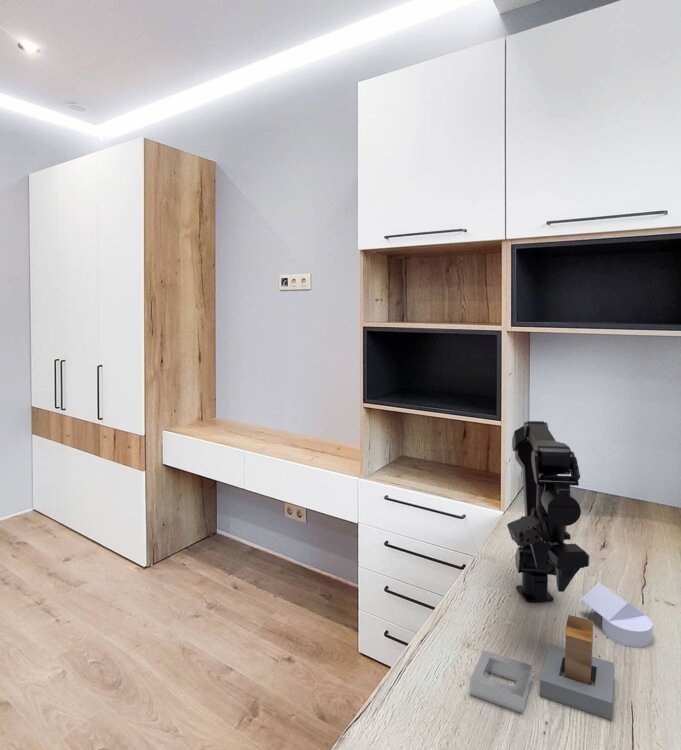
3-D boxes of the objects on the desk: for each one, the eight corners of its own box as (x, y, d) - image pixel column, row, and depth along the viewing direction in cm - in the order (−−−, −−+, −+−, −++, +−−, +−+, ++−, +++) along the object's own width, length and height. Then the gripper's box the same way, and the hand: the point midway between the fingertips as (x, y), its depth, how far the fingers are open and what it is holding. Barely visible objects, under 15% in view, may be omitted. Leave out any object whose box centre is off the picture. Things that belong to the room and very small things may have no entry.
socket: (549, 658, 96) (549, 644, 95) (613, 678, 90) (614, 663, 90) (539, 695, 86) (540, 679, 86) (611, 720, 81) (612, 703, 80)
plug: (566, 676, 91) (568, 614, 90) (591, 684, 89) (593, 621, 88) (564, 690, 88) (565, 626, 86) (589, 698, 85) (591, 633, 84)
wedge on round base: (579, 613, 111) (624, 650, 98) (580, 584, 110) (625, 618, 97) (615, 608, 112) (662, 643, 100) (616, 579, 112) (664, 612, 99)
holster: (483, 664, 94) (483, 649, 94) (531, 680, 90) (532, 665, 90) (470, 694, 87) (470, 678, 87) (522, 713, 82) (522, 696, 82)
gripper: (495, 492, 109) (494, 560, 111) (533, 526, 91) (531, 607, 92) (544, 490, 110) (542, 557, 112) (592, 523, 91) (589, 603, 93)
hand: (549, 579), depth 102 cm, fingers open, 9 cm apart
